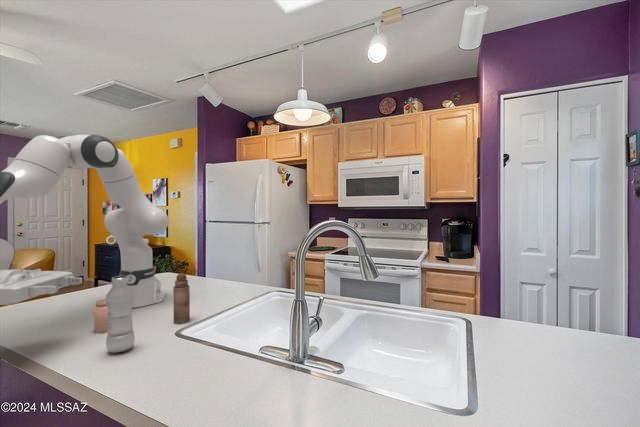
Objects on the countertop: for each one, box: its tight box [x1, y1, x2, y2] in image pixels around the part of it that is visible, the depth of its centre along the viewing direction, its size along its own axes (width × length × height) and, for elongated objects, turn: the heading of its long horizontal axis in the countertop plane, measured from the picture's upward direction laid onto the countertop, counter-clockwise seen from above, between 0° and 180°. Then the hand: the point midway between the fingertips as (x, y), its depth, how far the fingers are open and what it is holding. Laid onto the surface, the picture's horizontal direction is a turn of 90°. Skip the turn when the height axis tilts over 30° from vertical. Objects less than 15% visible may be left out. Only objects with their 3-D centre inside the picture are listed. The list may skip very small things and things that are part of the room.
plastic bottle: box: [104, 275, 136, 354], centre depth 81 cm, size 6×7×20 cm
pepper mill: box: [172, 272, 191, 325], centre depth 103 cm, size 5×5×17 cm
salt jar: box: [93, 299, 109, 334], centre depth 95 cm, size 6×6×9 cm
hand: (69, 285), depth 79 cm, fingers open, 8 cm apart
